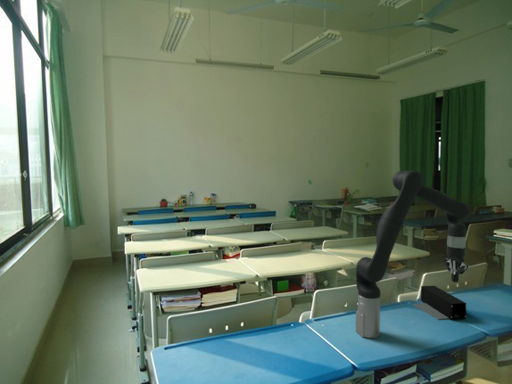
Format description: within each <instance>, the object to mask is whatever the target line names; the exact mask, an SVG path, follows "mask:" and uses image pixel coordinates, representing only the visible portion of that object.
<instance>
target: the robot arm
mask: <svg viewBox="0 0 512 384" xmlns="http://www.w3.org/2000/svg"><path fill="white" fill-rule="evenodd" d="M392 185H393V187H394V188H395V189H396V190H398V191H399V194H398V196H397V197H396V199H395V200H394V201H393V202H392V203H391V204H390V206H389V207H387V209H386V210H385V211H384V212H383V213H382V215H381V217H380V220H379V221H378V224H377V227H376V233H375V234H376V246H375V247H376V248H375V251H374V253H373V257H372V258H371V257H368V256H365V257H361V258H359V260H357V261H358V262H357V264H356V268H355V281H356V283H355V284H356V289H357V298H358V299H357V310H355V332H356V333H357V334H358V335H359V336H360V337H361V338H367V339H376V338H378V337H380V331H381V329H380V328H381V289H380V287H379V286H378V284H377V283H379V282H380V281H382V279H383V278H384V276H385V273H386V272H387V267H388V264H389V262H390V261H389V260H390V258H391V255H392V251H393V249H394V248H395V247H394V246H395V245H396V241H397V238H399V234H400V233H401V230H402V228H403V226H404V222H405V219H406V218H407V215H408V213H409V210H410V208H411V206H412V205H413V202H414V201H415V199H416V198H418V199H420V200H423V201H424V202H426V203H428V204H430V205H431V206H433V207H435V208H437V209H438V210H441V211H442V212H443V211H444V215H445V220H446V224H447V229H448V230H447V238H446V255H447V258H444V259H443V262H444V265H445V267H446V268H447V271H448V272H450V274H451V278H450V279H451V281H452V282H453V283H459V281H460V280H459V277H460V275H463V274H464V273H465V272H466V270H468V268H469V265H467V264H465V259H464V258H465V257H466V245H467V244H466V243H467V241H466V225H465V224H463V223H462V222H461V221H460V220H459V219H461V220H465V219H467V218H469V216H470V215H471V208H470V206H469V205H467V204H466V203H465V202H462V201H460V200H458V199H454V198H452V197H450V196H449V195H447V194H445V193H444V192H442V191H440V190H438V189H434V188H432V187H429V186H427V185H424V184H423V176H422V174H421V173H420V172H419V171H417V170H401V171H397V172H396V173H395V174H393V176H392Z"/></svg>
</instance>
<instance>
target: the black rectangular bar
mask: <svg viewBox="0 0 512 384" xmlns="http://www.w3.org/2000/svg"><path fill="white" fill-rule="evenodd" d="M420 301H421V302H422V303H423V302H424V303H426V304H428V305H429V306H431V307H433V308H434V309H436V310H437V311H439V312H440V313H442V314H443V315H445V316H446V317H448V318H449V319H448V320H465V319H467V302H465V301H464V300H462V299H460V298H458V297H456V296H454V295H452V294H450V293H449V292H447V291H445V290H443V289H441V288H439V287H438V286H436V285H421V286H420ZM455 314H456V315H458V316H460V317H454V316H455Z"/></svg>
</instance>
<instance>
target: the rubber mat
mask: <svg viewBox="0 0 512 384" xmlns="http://www.w3.org/2000/svg"><path fill="white" fill-rule="evenodd" d="M413 306H414V307H416V308H418V309H419V310H421V311H423V312H425V313H426V314H428V315H429V316H431V317H434V318H435V319H437V320H438V321H443V320H450V319H449V318H448V317H446V316H445V315H443V314H442V313H440V312H439V311H437V310H436V309H434V308H433V307H431V306H429V305H428V304H426V303H425V302H424V303H423V302H422V303H413ZM454 317H460V316H458V315H456V314H455V316H454Z"/></svg>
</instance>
